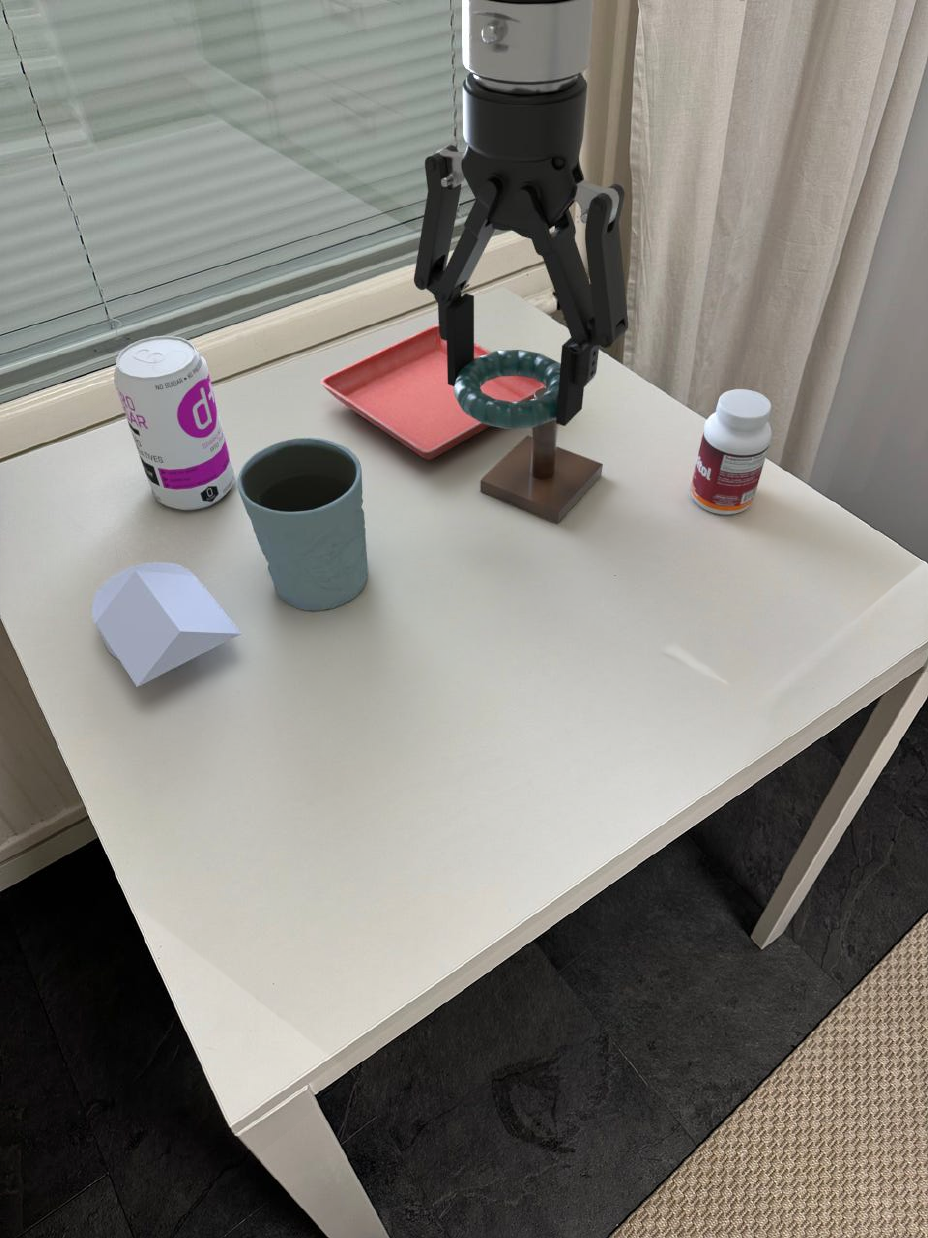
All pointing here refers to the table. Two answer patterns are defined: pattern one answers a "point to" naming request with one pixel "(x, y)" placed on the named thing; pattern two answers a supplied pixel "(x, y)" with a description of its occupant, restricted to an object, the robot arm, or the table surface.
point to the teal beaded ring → (505, 411)
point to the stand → (541, 474)
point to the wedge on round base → (158, 619)
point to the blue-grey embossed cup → (308, 520)
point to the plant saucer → (418, 393)
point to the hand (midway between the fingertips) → (513, 396)
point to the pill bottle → (732, 452)
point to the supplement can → (174, 421)
